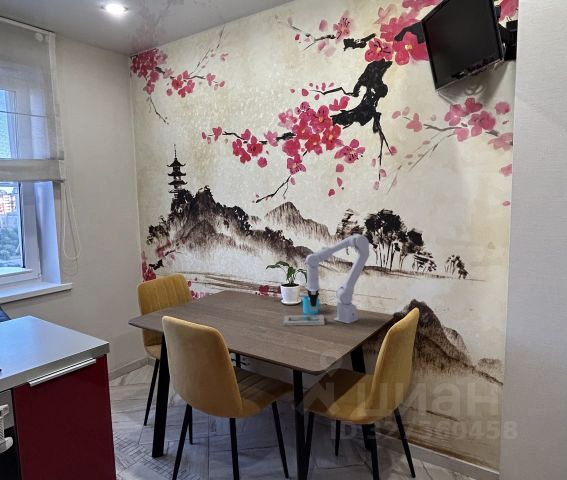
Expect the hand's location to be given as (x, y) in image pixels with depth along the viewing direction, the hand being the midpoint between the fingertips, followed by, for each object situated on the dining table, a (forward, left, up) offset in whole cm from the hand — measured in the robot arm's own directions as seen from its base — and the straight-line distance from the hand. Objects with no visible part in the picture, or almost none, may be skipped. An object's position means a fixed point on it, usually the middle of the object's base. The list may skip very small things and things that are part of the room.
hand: (313, 305), depth 199 cm
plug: (0, 0, -2) cm, 3 cm away
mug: (+12, -13, -9) cm, 20 cm away
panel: (+3, +3, -8) cm, 10 cm away
